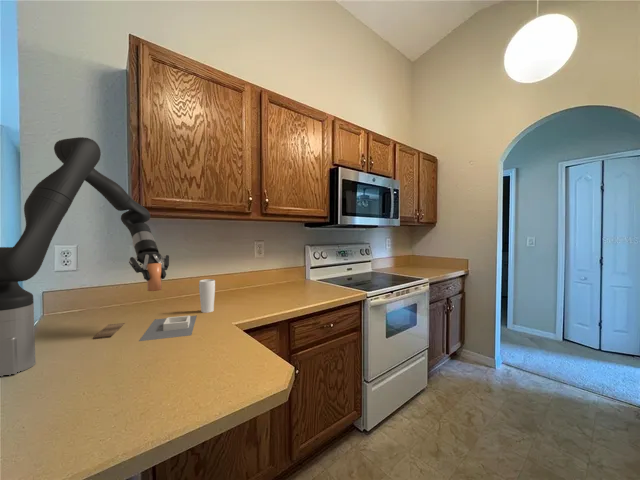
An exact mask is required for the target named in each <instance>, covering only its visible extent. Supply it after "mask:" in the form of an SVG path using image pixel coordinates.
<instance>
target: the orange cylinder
mask: <svg viewBox="0 0 640 480" xmlns="http://www.w3.org/2000/svg"><path fill="white" fill-rule="evenodd" d="M147 270H148V272H149V275H150V279H149V281H147V291H148V292H158V291H161V290H162V289H163V288H162V280H163V279H162V278H161V263H149V264H147Z"/></svg>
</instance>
